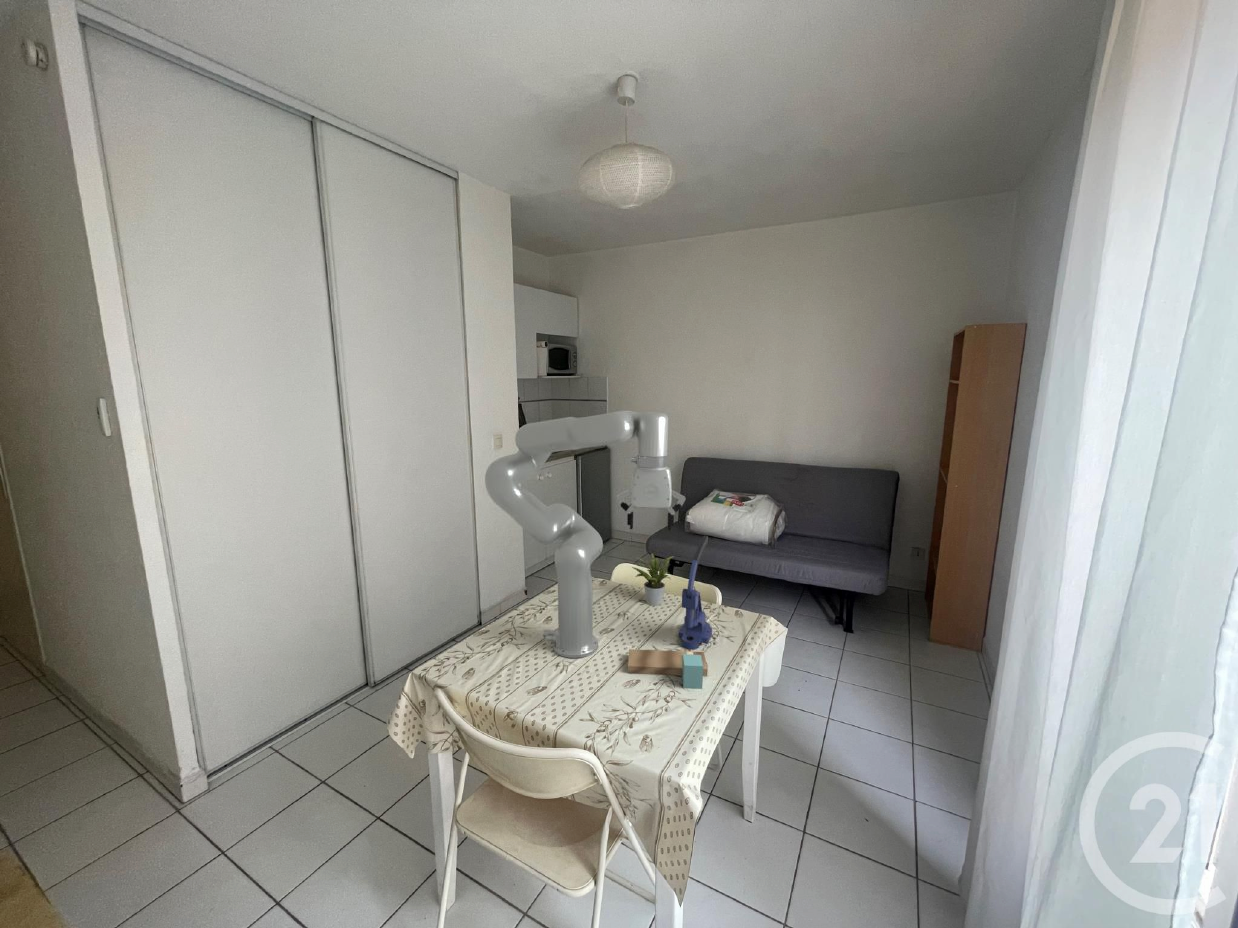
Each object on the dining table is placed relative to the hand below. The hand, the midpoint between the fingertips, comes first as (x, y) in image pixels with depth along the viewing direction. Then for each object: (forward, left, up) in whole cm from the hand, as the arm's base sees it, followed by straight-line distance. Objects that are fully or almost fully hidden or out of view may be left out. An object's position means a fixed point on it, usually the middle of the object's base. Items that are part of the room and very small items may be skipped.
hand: (650, 528), depth 127 cm
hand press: (+14, +13, -36) cm, 41 cm away
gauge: (+11, -7, -36) cm, 39 cm away
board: (+5, -3, -36) cm, 37 cm away
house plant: (+3, +36, -36) cm, 51 cm away
